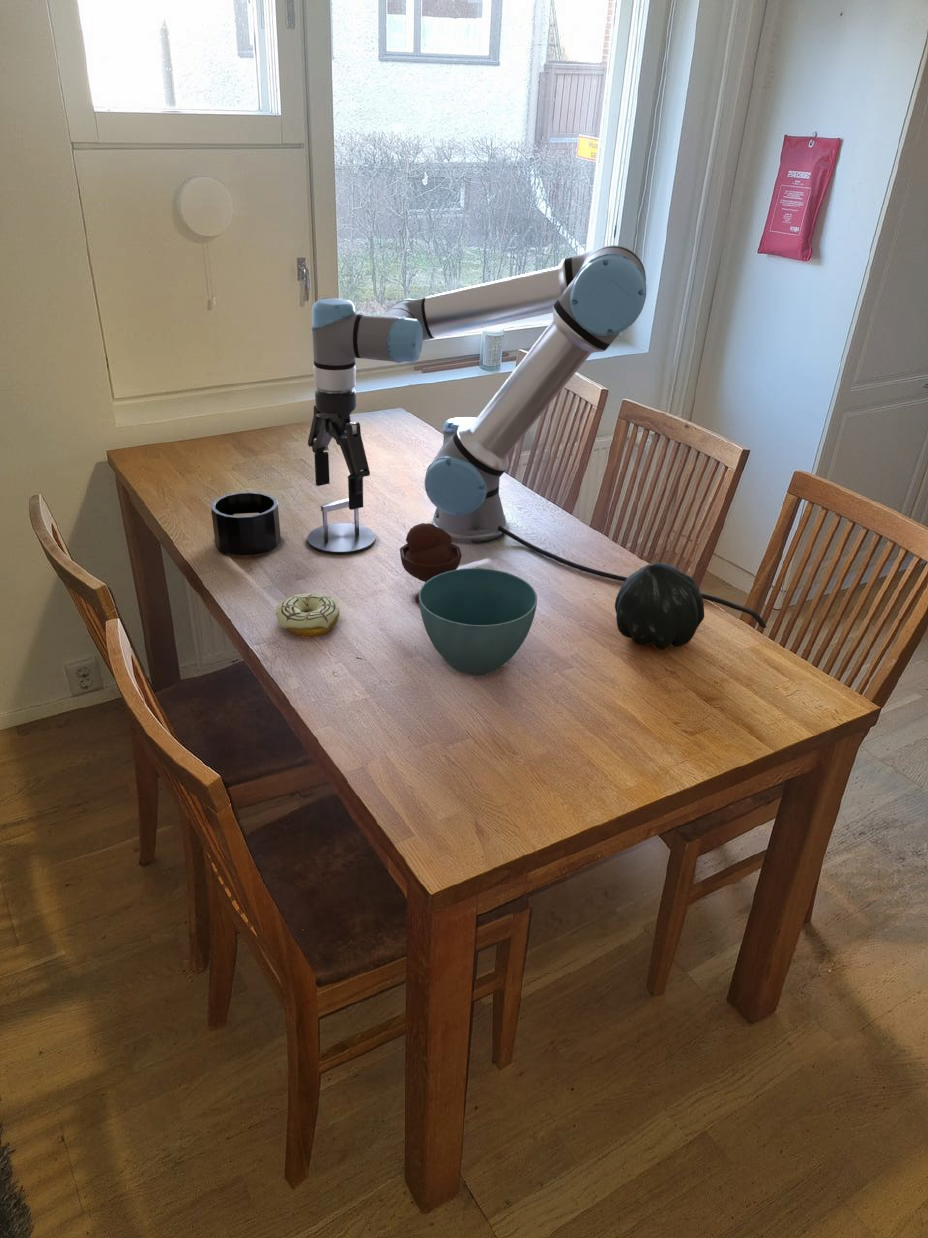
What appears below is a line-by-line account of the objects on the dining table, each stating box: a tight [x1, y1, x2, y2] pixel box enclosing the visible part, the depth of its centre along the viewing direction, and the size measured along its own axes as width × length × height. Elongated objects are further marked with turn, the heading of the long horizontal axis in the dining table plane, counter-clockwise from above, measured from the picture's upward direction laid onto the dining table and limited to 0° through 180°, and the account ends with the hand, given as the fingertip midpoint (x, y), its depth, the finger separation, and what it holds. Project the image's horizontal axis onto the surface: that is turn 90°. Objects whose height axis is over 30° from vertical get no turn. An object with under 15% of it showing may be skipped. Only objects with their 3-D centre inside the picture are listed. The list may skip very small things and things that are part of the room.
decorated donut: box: [275, 592, 340, 639], centre depth 153 cm, size 10×11×4 cm
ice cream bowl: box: [399, 522, 463, 605], centre depth 159 cm, size 11×11×15 cm
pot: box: [210, 491, 282, 557], centre depth 177 cm, size 13×13×8 cm
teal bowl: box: [418, 567, 538, 676], centre depth 142 cm, size 18×18×12 cm
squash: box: [614, 562, 705, 651], centre depth 150 cm, size 14×15×15 cm
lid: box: [307, 498, 377, 556], centre depth 179 cm, size 14×14×9 cm
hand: (339, 495), depth 176 cm, fingers open, 13 cm apart
